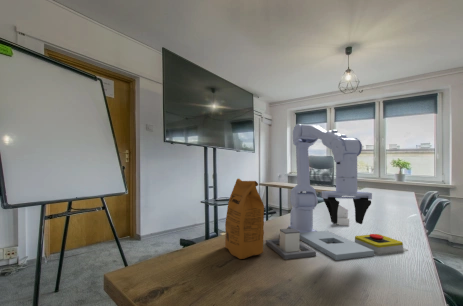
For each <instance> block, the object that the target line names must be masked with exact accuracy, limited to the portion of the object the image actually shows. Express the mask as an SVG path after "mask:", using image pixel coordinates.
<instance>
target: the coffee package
mask: <svg viewBox="0 0 463 306" xmlns="http://www.w3.org/2000/svg"><path fill="white" fill-rule="evenodd" d="M258 183H259V182H258V181H256V180H242V179H240V178H237V179H236V181H235V184H234V185H233V188H232V191H231V194H230V196H229V199H228V200H229V201H228V202H227V210H226V217H225V224H224V226H225V227H224V228H225V236H224V237H225V238H224V239H225V241H224V242H225V244H224V248H225V249H227V250H228V251H229V253H230V255H231V256H233V257H236V258H238V259H239V260H244V259H247V258H249V257H252V256H258V255H261V254H263V253H264V236H265V235H264V234H265V232H264V227H265V226H264V225H265V216H264V215H265V205H264V202H263V200H262V197H261V196H260V193H259V192H258V189H257V187H258V186H259V184H258Z"/></svg>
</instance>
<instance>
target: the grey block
mask: <svg viewBox="0 0 463 306" xmlns="http://www.w3.org/2000/svg"><path fill="white" fill-rule="evenodd" d="M279 239H280V244H279V248H281V249H282V250H283V251H285V252H286V253H290V252H300V248H299V244H300V241H301V240H300V232H299V231H297V230H296V229H294V228H280V229H279Z"/></svg>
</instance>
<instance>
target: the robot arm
mask: <svg viewBox="0 0 463 306" xmlns="http://www.w3.org/2000/svg"><path fill="white" fill-rule="evenodd" d="M318 140H321V144H322V145H323V146H324V147H327V148H328V149H329V150H331V152H332V155H333V160H334V162H335V190H328V191H327V190H324V191H323V190H322V191H321V198H322V200H323V202H324V204H325V206H326V207H327V210H328V213H329V216H330V222H331V223H333V224H334V225H336V224H337V213H338V206H339V205H340V201H338V200H337V199H345V200H346V199H348V200H349V199H350V200H351V199H352V201H353V206H354V213H355V215H354V219H355V223H356V224H358V225H359V224H360V225H362V224H363V221H364V218H365V216H366V213H367V211H368V210H369V208H370V206H371V205H372V200H373V193H372V192H369V191H358V157H359V156H361V155H360V154H361V153H362V152H363V145H362V141H361V140H360V139H358V138H357V137H351V138H349V137H347V134H345V133H344V134H341V133H339V131H338V130H337V129H330V130H327V129H324V128H322V126H321V125H319V124H303V123H296V124H295V125H294V127H293V130H292V142H293V143H292V144H293V145H294V146H295V157H296V159H295V160H296V178H297V179H296V182H297V184H296V185H295V186H294V187H292V189H291V190H290V196H289V201H290V205H291V207H292V208H291V210H290V215H289V216H290V219H289V225H288V228H289V229H292V228H294V229H296V230H297V231H299V232H300V233H303V232H317V231H318V230H317V229H315V228H314V225H313V224H314V219H313V218H314V216H313V215H314V213H313V211H314V210H315V208H316V207H317V205H318V201H319V200H318V196H317V191H316V189H315V188H314V187H313V186H311V181H310V180H311V179H310V161H309V160H310V158H309V157H310V156H309V148H310V147H312V146H314V144H315V143H316V142H317V141H318Z"/></svg>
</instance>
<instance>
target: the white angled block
mask: <svg viewBox="0 0 463 306" xmlns="http://www.w3.org/2000/svg"><path fill="white" fill-rule="evenodd" d="M348 212H349V210H348V209H347V208H345V207H344V206H342V205H341V204H339V206H338V213H337V224H339V225H338V226H350V218H349V213H348Z"/></svg>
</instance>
